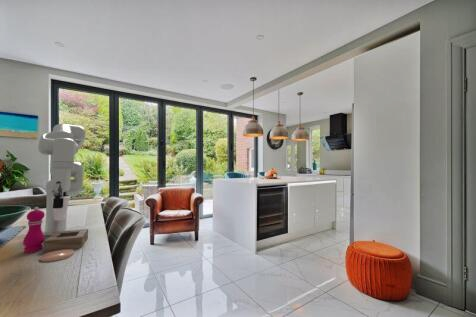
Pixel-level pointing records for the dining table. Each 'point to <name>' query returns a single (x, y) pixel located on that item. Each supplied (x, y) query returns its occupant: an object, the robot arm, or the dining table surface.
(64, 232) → the bottle holder
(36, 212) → the pepper mill
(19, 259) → the dining table surface
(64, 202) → the smoothie
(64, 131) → the robot arm
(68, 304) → the dining table surface
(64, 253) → the tan round disc
